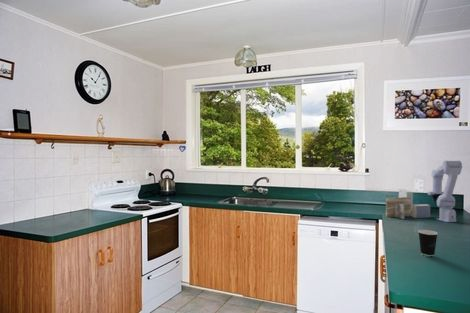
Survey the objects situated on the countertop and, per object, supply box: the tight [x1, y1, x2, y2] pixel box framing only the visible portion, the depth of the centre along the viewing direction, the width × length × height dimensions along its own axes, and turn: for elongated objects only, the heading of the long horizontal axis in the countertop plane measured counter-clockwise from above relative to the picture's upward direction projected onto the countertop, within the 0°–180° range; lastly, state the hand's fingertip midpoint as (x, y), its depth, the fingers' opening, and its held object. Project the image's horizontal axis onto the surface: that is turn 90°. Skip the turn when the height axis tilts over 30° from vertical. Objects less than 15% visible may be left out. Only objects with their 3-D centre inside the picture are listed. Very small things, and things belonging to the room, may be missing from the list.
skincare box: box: [398, 188, 414, 212], centre depth 264 cm, size 21×6×16 cm, turn 168°
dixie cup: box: [417, 229, 439, 256], centre depth 143 cm, size 8×8×11 cm
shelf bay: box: [385, 197, 412, 220], centre depth 229 cm, size 9×20×14 cm, turn 101°
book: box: [411, 204, 431, 219], centre depth 230 cm, size 4×12×9 cm, turn 101°
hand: (437, 204), depth 233 cm, fingers closed
